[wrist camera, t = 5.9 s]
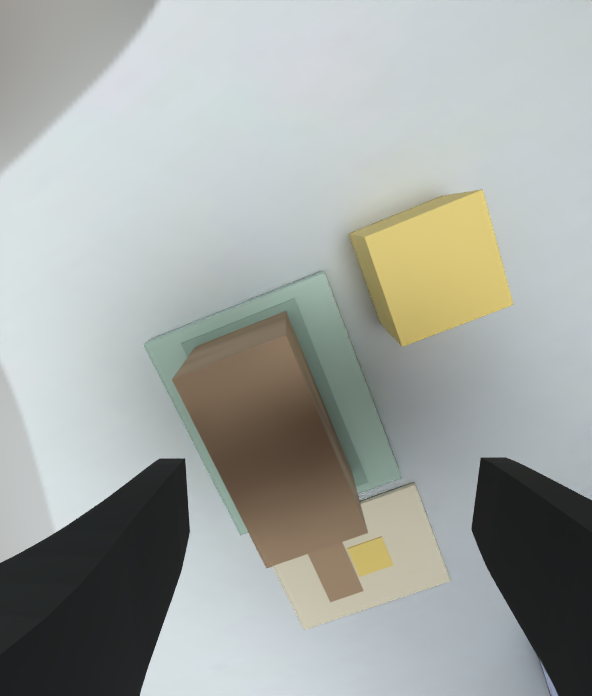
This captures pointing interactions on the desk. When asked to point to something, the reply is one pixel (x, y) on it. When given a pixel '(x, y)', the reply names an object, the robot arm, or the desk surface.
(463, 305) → the ochre cube
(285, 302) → the baseplate
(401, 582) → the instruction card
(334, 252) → the desk surface
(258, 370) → the walnut brick
